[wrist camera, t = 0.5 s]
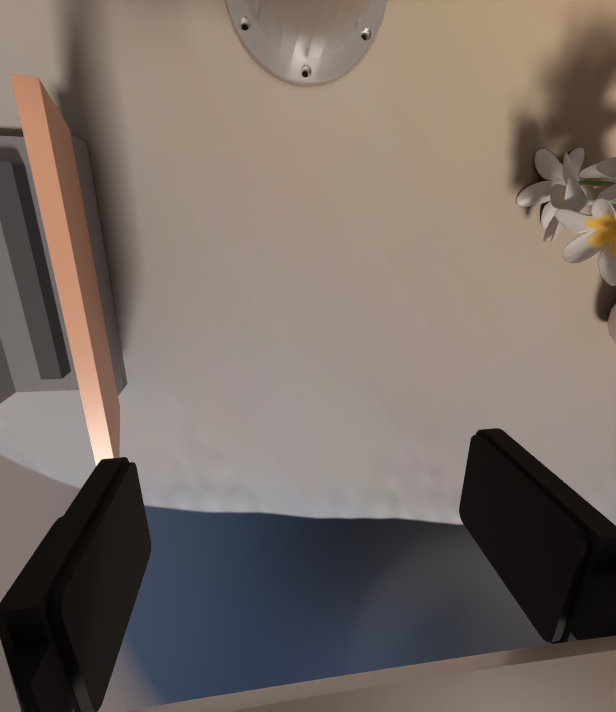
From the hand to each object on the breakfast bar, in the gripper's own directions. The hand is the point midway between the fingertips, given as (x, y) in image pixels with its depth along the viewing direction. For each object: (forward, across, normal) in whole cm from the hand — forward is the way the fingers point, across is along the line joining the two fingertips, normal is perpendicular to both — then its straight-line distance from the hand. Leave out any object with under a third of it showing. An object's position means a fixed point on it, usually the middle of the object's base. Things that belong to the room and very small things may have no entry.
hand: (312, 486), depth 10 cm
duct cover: (+18, +13, -2) cm, 22 cm away
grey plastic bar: (+28, +21, -2) cm, 35 cm away
